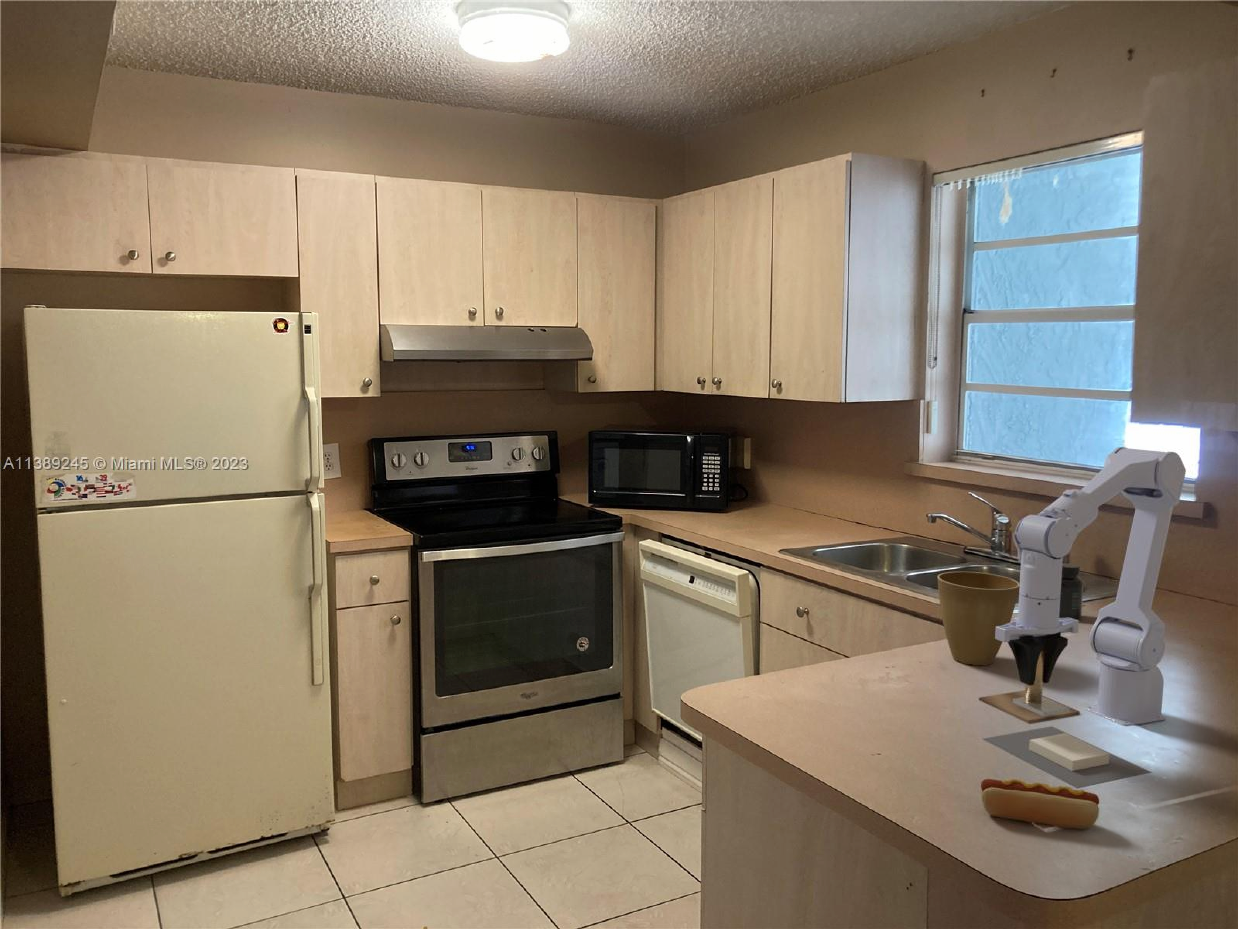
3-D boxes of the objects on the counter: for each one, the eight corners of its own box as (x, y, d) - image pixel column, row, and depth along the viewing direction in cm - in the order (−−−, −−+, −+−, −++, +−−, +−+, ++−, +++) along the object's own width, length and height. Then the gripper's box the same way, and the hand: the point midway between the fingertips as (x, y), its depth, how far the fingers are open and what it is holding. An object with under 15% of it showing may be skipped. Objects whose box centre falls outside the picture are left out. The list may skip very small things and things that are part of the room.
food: (1093, 819, 125) (1096, 782, 124) (1100, 839, 120) (1103, 801, 119) (978, 803, 129) (980, 767, 128) (980, 822, 124) (982, 784, 123)
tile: (1065, 733, 147) (1109, 753, 140) (1064, 743, 147) (1108, 764, 140) (1029, 740, 145) (1072, 761, 137) (1029, 750, 145) (1071, 771, 137)
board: (1028, 694, 170) (1028, 689, 170) (1079, 716, 160) (1079, 711, 160) (978, 702, 166) (979, 697, 166) (1027, 725, 156) (1027, 720, 155)
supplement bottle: (1041, 614, 222) (1044, 563, 220) (1065, 612, 224) (1069, 561, 222) (1063, 622, 215) (1066, 569, 214) (1088, 620, 217) (1091, 567, 216)
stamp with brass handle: (1012, 702, 149) (1016, 648, 148) (1037, 698, 151) (1041, 644, 150) (1043, 716, 143) (1046, 660, 142) (1068, 712, 145) (1072, 656, 144)
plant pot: (989, 678, 178) (993, 592, 176) (918, 657, 189) (922, 577, 188) (1030, 662, 188) (1034, 581, 186) (960, 643, 199) (964, 567, 197)
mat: (1051, 728, 154) (1051, 726, 154) (1151, 774, 138) (1151, 772, 138) (982, 741, 149) (982, 738, 149) (1076, 790, 132) (1076, 787, 132)
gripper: (1055, 585, 153) (1050, 668, 154) (982, 593, 147) (978, 679, 149) (1092, 595, 146) (1086, 682, 148) (1017, 604, 141) (1012, 694, 143)
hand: (1034, 682), depth 148 cm, fingers closed on stamp with brass handle, 2 cm apart
